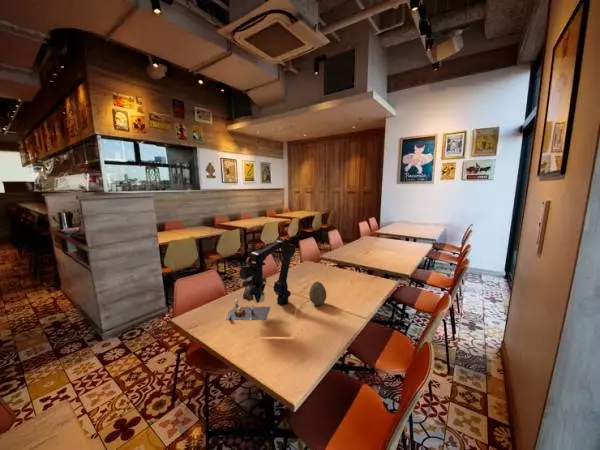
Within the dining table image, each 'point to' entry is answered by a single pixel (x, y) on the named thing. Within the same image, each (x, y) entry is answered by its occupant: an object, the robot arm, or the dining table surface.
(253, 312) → the carrier
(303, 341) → the dining table surface
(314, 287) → the decorative egg
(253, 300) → the hollow octagonal tube
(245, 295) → the grey rock
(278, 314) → the dining table surface
